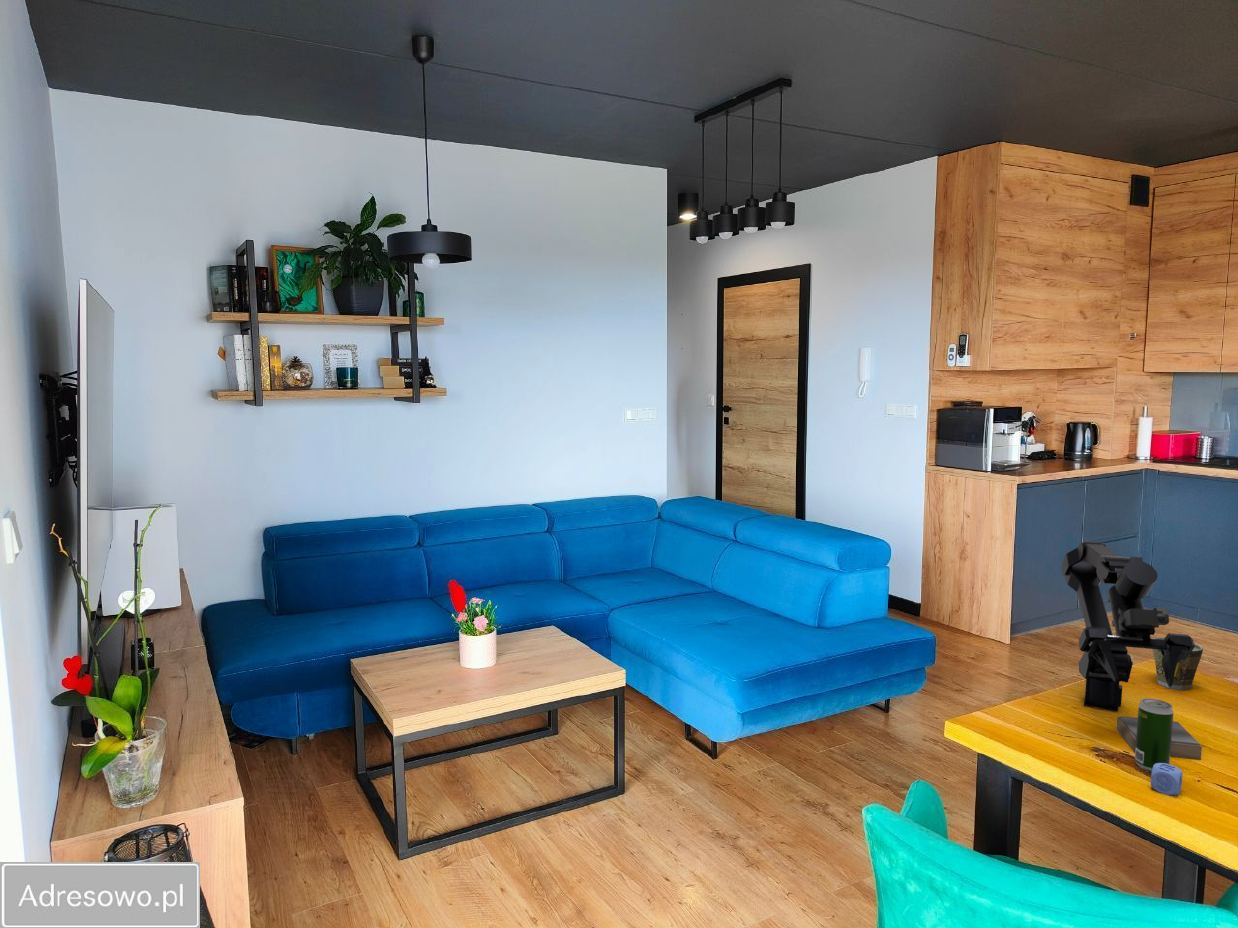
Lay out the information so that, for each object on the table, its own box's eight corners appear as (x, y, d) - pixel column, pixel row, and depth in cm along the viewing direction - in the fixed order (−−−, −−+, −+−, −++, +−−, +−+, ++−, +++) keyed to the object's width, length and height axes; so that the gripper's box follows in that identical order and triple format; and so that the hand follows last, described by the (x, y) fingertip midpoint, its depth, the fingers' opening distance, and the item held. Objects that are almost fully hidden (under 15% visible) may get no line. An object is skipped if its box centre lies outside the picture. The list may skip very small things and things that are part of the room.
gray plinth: (1116, 729, 167) (1117, 714, 166) (1177, 735, 164) (1179, 721, 163) (1134, 752, 156) (1135, 737, 156) (1200, 759, 153) (1202, 744, 153)
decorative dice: (1181, 789, 142) (1183, 767, 141) (1177, 798, 139) (1179, 775, 138) (1154, 782, 144) (1155, 760, 144) (1149, 790, 141) (1151, 768, 141)
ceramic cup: (1147, 674, 199) (1150, 634, 198) (1197, 682, 194) (1200, 641, 193) (1150, 691, 187) (1153, 649, 186) (1203, 700, 182) (1207, 657, 181)
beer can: (1151, 774, 147) (1156, 710, 146) (1127, 761, 152) (1131, 698, 151) (1176, 771, 148) (1181, 707, 147) (1151, 758, 153) (1155, 696, 152)
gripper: (1086, 587, 162) (1099, 658, 152) (1194, 594, 157) (1215, 669, 147) (1073, 615, 170) (1084, 685, 161) (1175, 623, 165) (1193, 695, 156)
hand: (1143, 683), depth 156 cm, fingers open, 9 cm apart
